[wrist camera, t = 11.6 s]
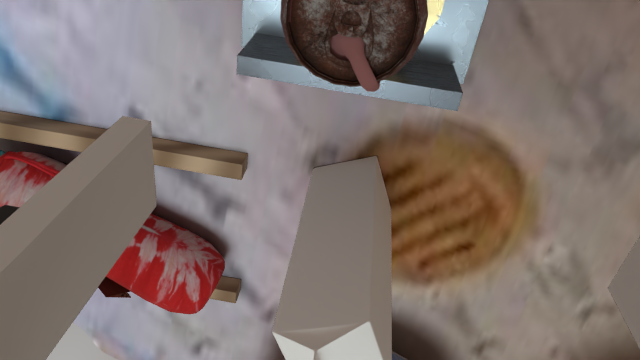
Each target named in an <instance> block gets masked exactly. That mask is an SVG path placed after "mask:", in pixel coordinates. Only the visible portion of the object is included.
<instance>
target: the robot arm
mask: <svg viewBox="0 0 640 360" xmlns="http://www.w3.org/2000/svg"><path fill="white" fill-rule="evenodd" d="M156 206H157V204H156V190H155V175H154V160H153V145H152V130H151V121H147V120H142V119H136V118H130V117H125V116H122V117H121V118H120V119H119V120H118V121H117V122H116V123H114V124H113V125H112V126H111V127H110V128H109V129H108V130H107V131H105V132H104V133H103V134H102V135H101V136H100V137H99V138H98V139H96V140H95V141H94V142H93V143H92V144H91V145H90V146H89V147H87V148H86V149H85V150H84V151H83V152H82V153H81V154H79V155H78V156H77V157H76V158H75V159H74V160H73V161H72V162H70V163H69V164H68V165H67V166H66V167H65V168H64V169H63V170H61V171H60V172H59V173H58V174H57V175H56V176H55V177H54V178H52V179H51V180H50V181H49V182H48V183H47V184H46V185H45V186H43V187H42V188H41V189H40V190H39V191H38V192H37V193H36V194H34V195H33V196H32V197H31V198H30V199H29V200H28V201H26V202H25V203H24V204H23V205H22V206H21V207H15V206H9V205H4V206H2V207H0V360H46V359H47V357H48V356H49V354H50V353H51V352H52V350H53V349H54V347H55V346H56V344H57V343H58V342H59V340H60V339H61V338H62V336H63V335H64V334H65V332H66V331H67V329H68V328H69V327H70V325H71V324H72V323H73V321H74V320H75V318H76V317H77V316H78V314H79V313H80V311H81V310H82V309H83V307H84V306H85V304H86V303H87V302H88V300H89V299H90V297H91V296H92V295H93V293H94V292H95V291H96V289H97V288H98V286H99V285H100V284H101V282H102V281H103V279H104V278H105V277H106V275H107V274H108V272H109V271H110V270H111V268H112V267H113V266H114V264H115V263H116V261H117V260H118V259H119V257H120V256H121V254H122V253H123V252H124V250H125V249H126V247H127V246H128V245H129V243H130V242H131V240H132V239H133V238H134V236H135V235H136V234H137V232H138V231H139V229H140V228H141V227H142V225H143V224H144V222H145V221H146V220H147V218H148V217H149V215H150V214H151V213H152V211H153V210H154V209H155V207H156ZM608 289H609V291H610V293H611V295H612V297H613V299H614V301H615V303H616V305H617V307H618V308H619V310H620V312H621V314H622V316H623V318H624V320H625V322H626V324H627V326H628V328H629V330H630V332H631V334H632V335H633V337H634V339H635V341H636V343H637V345H638V347H639V349H640V237H639V238H638V240H637V241H636V243H635V245H634V246H633V248H632V249H631V251H630V253H629V254H628V256H627V258H626V259H625V261H624V262H623V264H622V266H621V267H620V269H619V270H618V272H617V274H616V275H615V277H614V278H613V280H612V282H611V283H610V285H609V287H608Z"/></svg>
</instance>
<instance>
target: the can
mask: <svg viewBox="0 0 640 360" xmlns="http://www.w3.org/2000/svg"><path fill="white" fill-rule="evenodd" d="M427 18H428V7H427V0H281V14H280V20H281V24H282V28H283V32H284V36H285V40H286V42H287V44H288V46H289V47H290V49H291V51H292V52H293V54H294V56H295V57H296V59H297V61H299V62H300V63H301V64H302V65H303V66H304V67H305V68H306V69H307V70H309V71H310V72H311V73H312V74H313V75H315V76H317V77H319V78H321V79H323V80H325V81H327V82H330V83H332V84H335V85H343V86H350V87H358V86H361V87H362V88H364V89H365V90H366V91H370V92H374V91H377V90H378V89H379V87H380V81H382V80H384V79H386V78H388V77H390V76H392V75H394V74H396V73H397V72H398V71H399V70H400V69H401V68H402V67H403V66H404V65H405V64H406V63H407V62H408V61H410V60H411V59H412V57H413V55H414V54H415V52H416V50H417V48H418V47H419V45H420V43H421V41H422V39H423V37H424V32H425V28H426V23H427Z"/></svg>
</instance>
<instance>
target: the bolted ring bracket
mask: <svg viewBox="0 0 640 360" xmlns="http://www.w3.org/2000/svg"><path fill="white" fill-rule="evenodd" d="M488 1H489V0H427V7H428V18H427V23H426V28H425V32H424V37H423V39H422V41H421V43H420V45H419V47H418V48H417V50H416V52H415V54H414V55H413V57H412V59H411V60H410V61H408V62H407V63H406V64H405V65H404V66H403V67H402V68H401V69H400V70H399V71H398V72H397V73H396V74H394V75H392V76H390V77H388V78H386V79H384V80H382V81H380V87H379V89H378V90H377V91H374V92H370V91H366V90H365V89H364V88H362V87H361V86H358V87H350V86H343V85H335V84H332V83H330V82H327V81H325V80H323V79H321V78H319V77H317V76H315V75H313V74H312V73H311V72H310V71H309V70H307V69H306V68H305V67H304V66H303V65H302V64H301V63H300V62H299V61H297V59H296V57H295V56H294V54H293V52H292V51H291V49H290V47H289V46H288V44H287V42H286V40H285V36H284V32H283V28H282V24H281V20H280V14H281V0H243V15H242V40H241V47H244V48H243V49H242V50H241V52H240V53H239V54H238V55H237V74H240V75H246V76H251V77H257V78H263V79H269V80H275V81H281V82H287V83H293V84H299V85H305V86H311V87H317V88H323V89H329V90H335V91H341V92H347V93H353V94H359V95H365V96H371V97H377V98H383V99H389V100H395V101H401V102H407V103H413V104H418V105H424V106H430V107H436V108H442V109H448V110H454V111H457V110H458V107H459V104H460V101H461V97H462V94H463V92H462V89H461V86H460V83H461V84H463V83H464V79H465V76H466V73H467V70H468V66H469V63H470V60H471V56H472V53H473V50H474V47H475V43H476V40H477V37H478V34H479V30H480V27H481V24H482V21H483V17H484V14H485V11H486V8H487V4H488Z"/></svg>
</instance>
